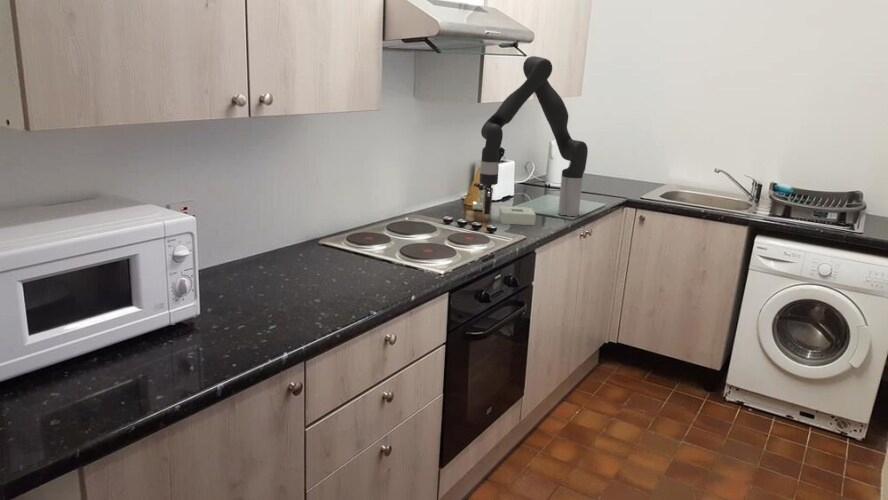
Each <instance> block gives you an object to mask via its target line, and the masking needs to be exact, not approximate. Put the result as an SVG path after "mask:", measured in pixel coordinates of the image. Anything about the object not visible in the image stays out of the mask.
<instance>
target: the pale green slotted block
mask: <svg viewBox="0 0 888 500" xmlns="http://www.w3.org/2000/svg"><path fill="white" fill-rule="evenodd" d="M536 215H537V214H536V213H535V211H534V209H533V207H522V206H521V207H520V206H504V205H503V206H502V205H500V206H499V213H498V217H499V221H500V224H502V225H521V226H522V225H523V226H535V225H536V217H537V216H536Z"/></svg>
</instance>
